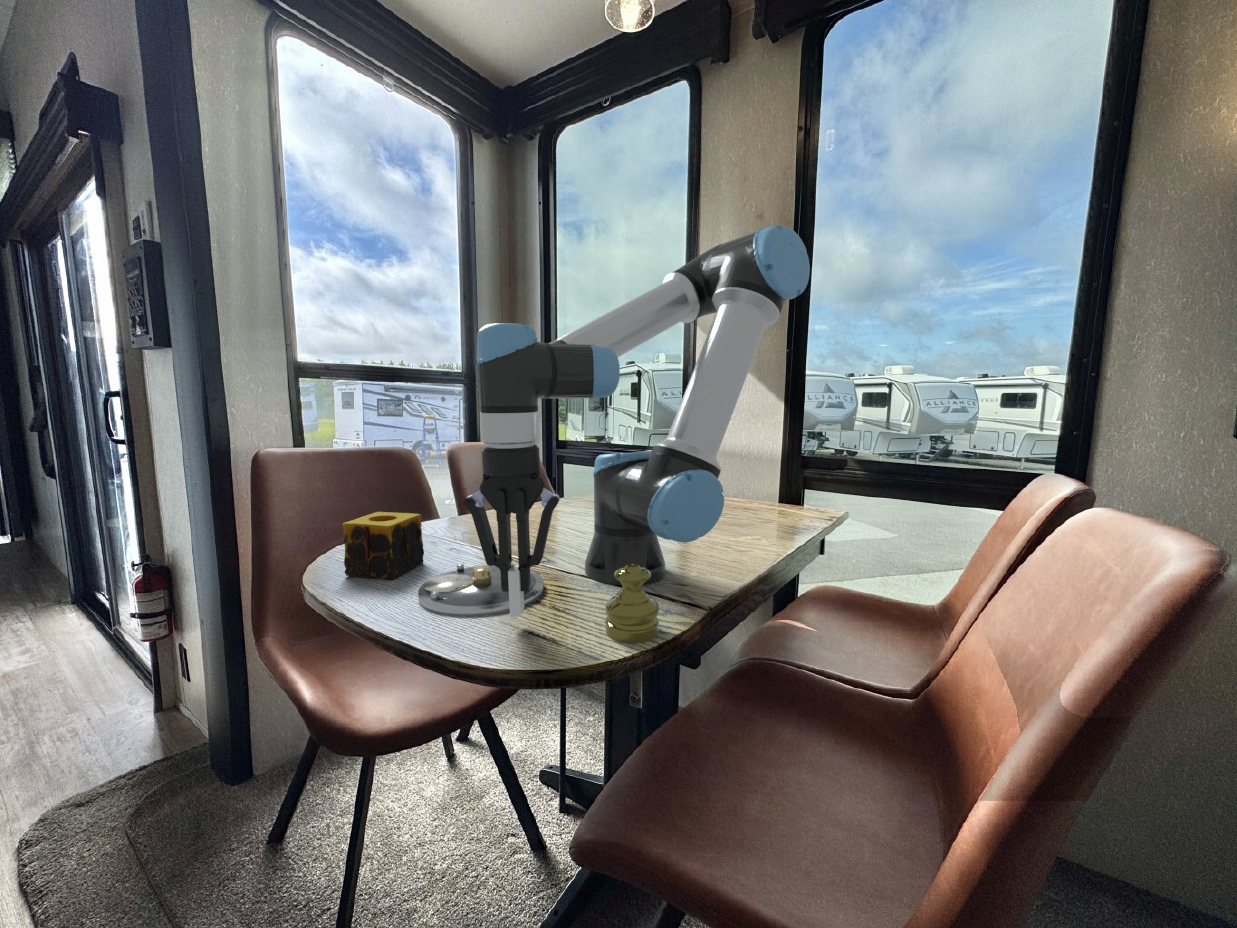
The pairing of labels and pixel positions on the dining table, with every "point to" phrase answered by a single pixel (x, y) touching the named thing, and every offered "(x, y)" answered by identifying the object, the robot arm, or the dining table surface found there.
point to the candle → (383, 545)
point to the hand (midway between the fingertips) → (517, 612)
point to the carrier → (472, 591)
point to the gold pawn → (632, 608)
